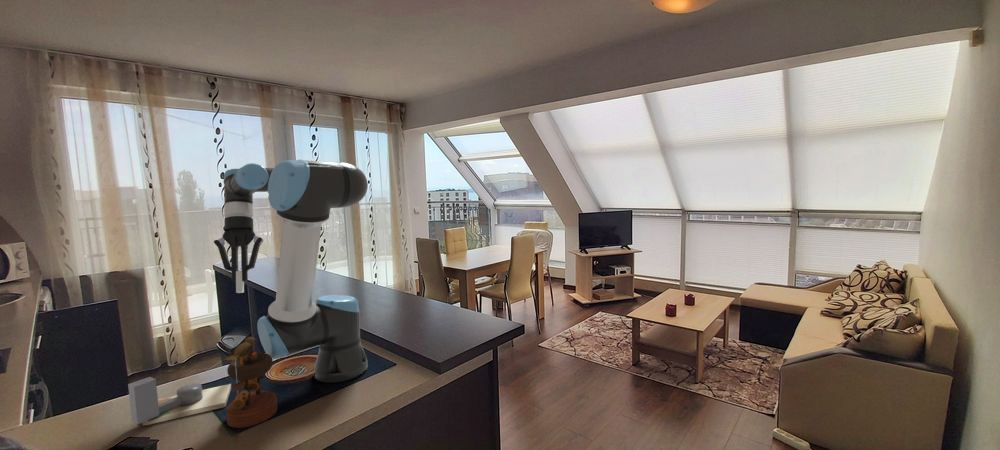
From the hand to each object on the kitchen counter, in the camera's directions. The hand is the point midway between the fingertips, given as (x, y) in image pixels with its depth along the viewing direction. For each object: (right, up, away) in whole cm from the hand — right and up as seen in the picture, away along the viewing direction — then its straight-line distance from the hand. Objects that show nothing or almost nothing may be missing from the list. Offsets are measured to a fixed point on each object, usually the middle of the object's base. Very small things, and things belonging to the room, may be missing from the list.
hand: (240, 292), depth 117 cm
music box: (+18, -26, -22) cm, 39 cm away
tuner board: (0, -26, -18) cm, 32 cm away
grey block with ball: (-2, -25, -22) cm, 33 cm away
